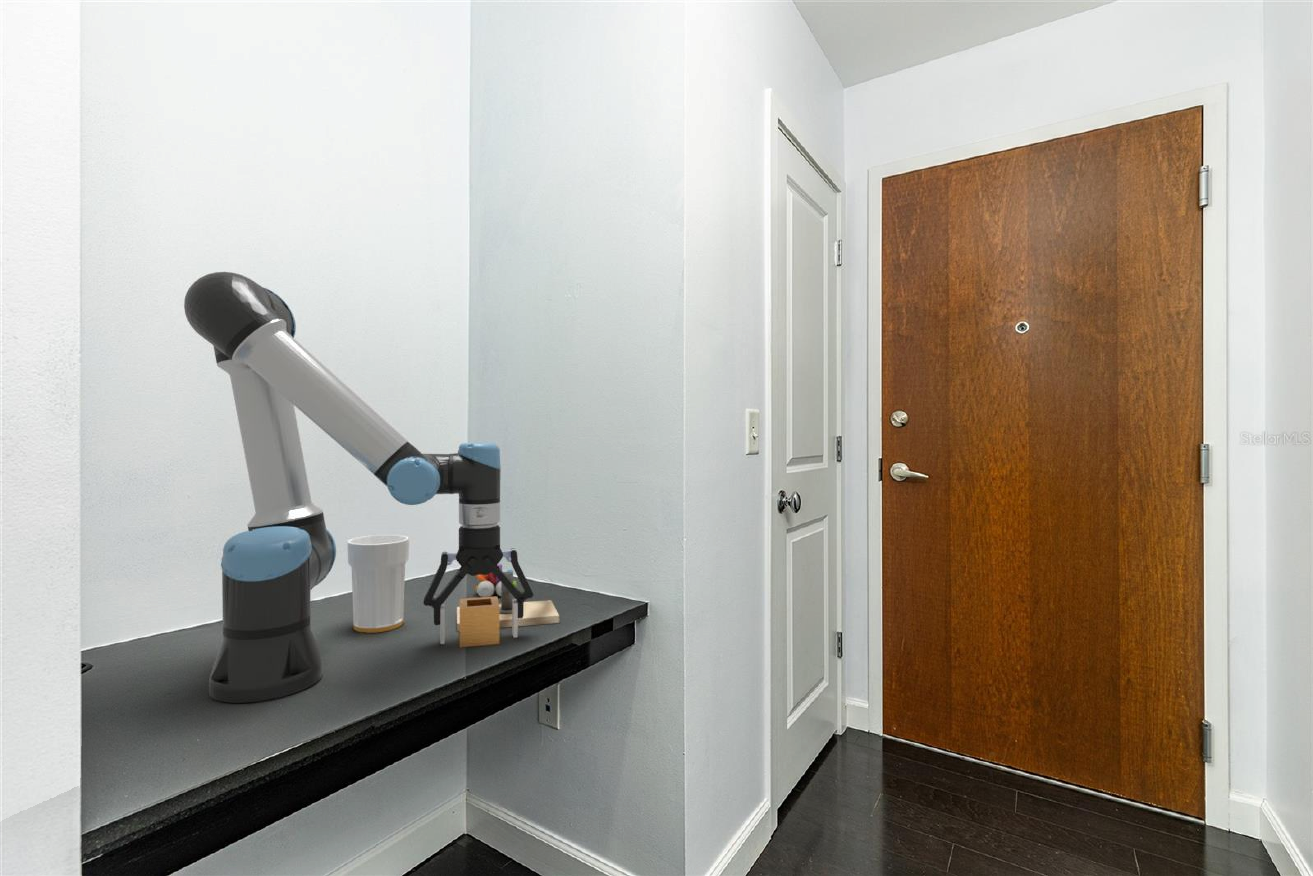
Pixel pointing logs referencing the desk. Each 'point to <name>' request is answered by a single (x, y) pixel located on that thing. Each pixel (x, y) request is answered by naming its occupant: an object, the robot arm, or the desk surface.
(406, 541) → the cup
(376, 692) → the desk surface
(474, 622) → the wooden pen holder
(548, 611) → the keeper
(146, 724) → the desk surface
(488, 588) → the colorful toy
